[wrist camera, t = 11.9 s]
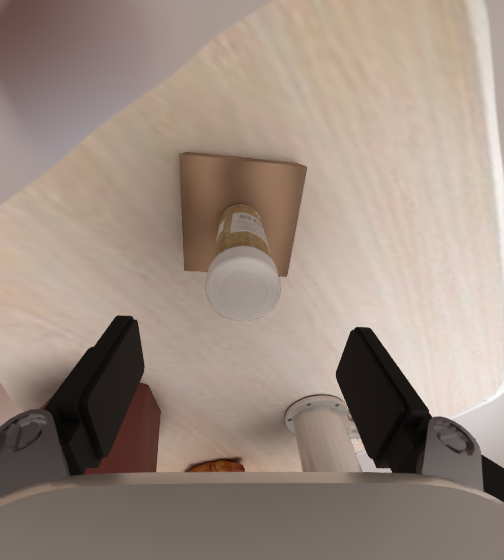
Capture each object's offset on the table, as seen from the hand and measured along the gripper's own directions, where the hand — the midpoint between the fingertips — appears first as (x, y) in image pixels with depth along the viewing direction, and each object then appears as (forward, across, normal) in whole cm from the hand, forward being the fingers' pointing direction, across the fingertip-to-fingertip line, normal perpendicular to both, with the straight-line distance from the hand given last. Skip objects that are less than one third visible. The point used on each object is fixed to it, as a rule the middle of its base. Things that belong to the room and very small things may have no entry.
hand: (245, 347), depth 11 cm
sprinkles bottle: (+18, 0, 0) cm, 18 cm away
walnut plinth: (+22, 0, -1) cm, 22 cm away
